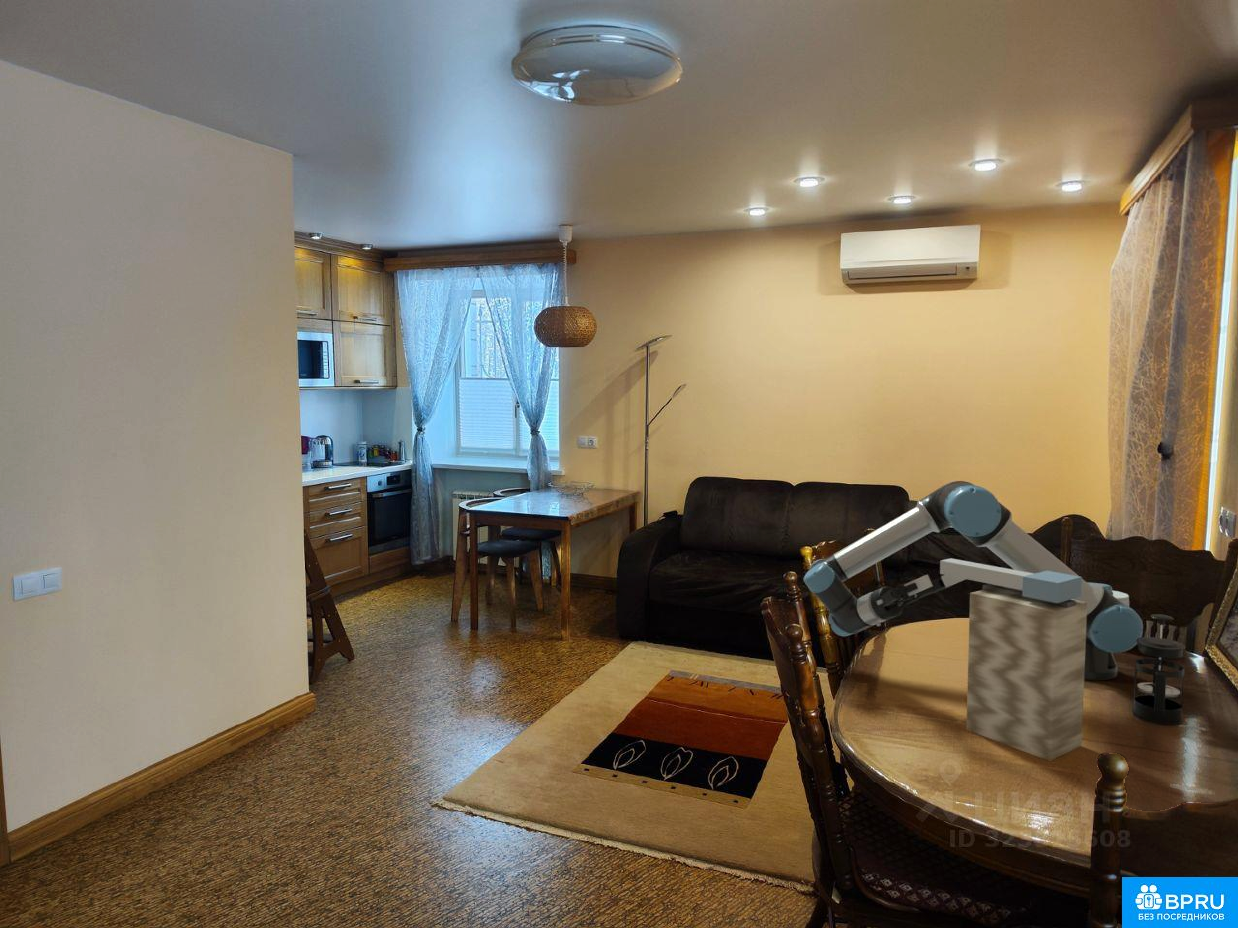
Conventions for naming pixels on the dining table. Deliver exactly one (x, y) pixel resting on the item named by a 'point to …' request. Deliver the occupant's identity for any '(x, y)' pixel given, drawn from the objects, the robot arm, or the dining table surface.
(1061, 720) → the patterned tall box
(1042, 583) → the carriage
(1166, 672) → the french press
